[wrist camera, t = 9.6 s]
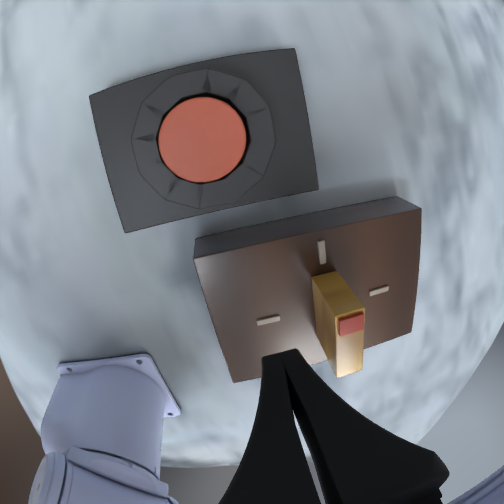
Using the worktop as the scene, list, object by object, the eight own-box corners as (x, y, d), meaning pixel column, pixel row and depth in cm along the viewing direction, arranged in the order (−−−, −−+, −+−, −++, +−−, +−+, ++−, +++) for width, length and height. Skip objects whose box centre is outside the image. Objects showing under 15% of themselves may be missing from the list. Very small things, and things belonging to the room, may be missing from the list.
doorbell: (133, 222, 18) (115, 246, 14) (101, 98, 15) (74, 93, 11) (307, 182, 19) (331, 197, 15) (285, 55, 15) (305, 39, 12)
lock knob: (339, 329, 20) (363, 373, 16) (316, 336, 20) (337, 381, 16) (336, 270, 18) (367, 309, 14) (310, 276, 18) (336, 318, 14)
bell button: (174, 183, 14) (169, 191, 12) (156, 111, 13) (149, 109, 11) (248, 166, 14) (253, 172, 13) (234, 93, 13) (237, 88, 11)
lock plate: (230, 355, 23) (233, 385, 20) (195, 238, 19) (192, 259, 16) (394, 311, 24) (412, 333, 21) (397, 195, 20) (423, 208, 17)
